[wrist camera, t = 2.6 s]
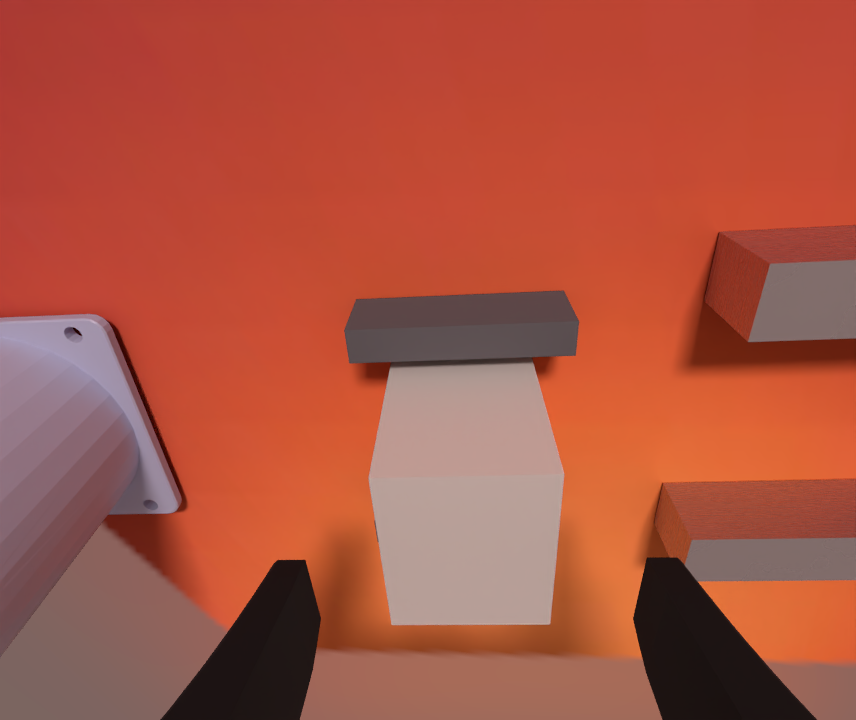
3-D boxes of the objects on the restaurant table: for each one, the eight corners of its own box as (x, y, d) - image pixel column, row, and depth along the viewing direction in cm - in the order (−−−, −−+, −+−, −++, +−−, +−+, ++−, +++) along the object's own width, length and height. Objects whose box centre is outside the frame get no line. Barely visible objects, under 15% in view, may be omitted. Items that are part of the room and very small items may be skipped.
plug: (408, 466, 18) (391, 625, 13) (395, 342, 16) (368, 478, 11) (521, 463, 18) (550, 624, 13) (526, 336, 16) (564, 474, 10)
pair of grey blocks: (384, 498, 19) (377, 542, 17) (356, 299, 15) (344, 330, 13) (548, 495, 19) (558, 539, 17) (563, 290, 15) (578, 320, 13)
